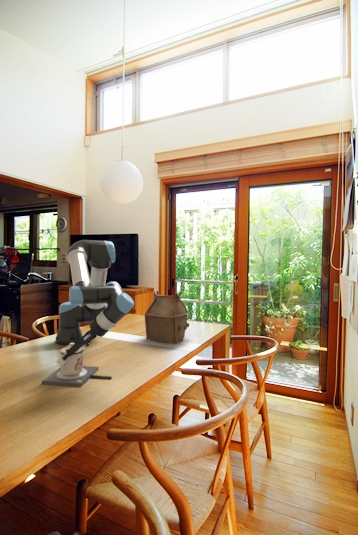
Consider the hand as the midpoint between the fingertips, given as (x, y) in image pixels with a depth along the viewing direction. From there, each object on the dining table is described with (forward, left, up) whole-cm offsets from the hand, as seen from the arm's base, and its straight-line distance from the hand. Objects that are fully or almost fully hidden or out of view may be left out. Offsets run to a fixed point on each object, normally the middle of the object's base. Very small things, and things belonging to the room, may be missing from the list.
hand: (66, 358), depth 124 cm
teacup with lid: (+3, 0, -5) cm, 6 cm away
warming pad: (+7, 0, -7) cm, 10 cm away
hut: (+33, +65, -7) cm, 73 cm away
